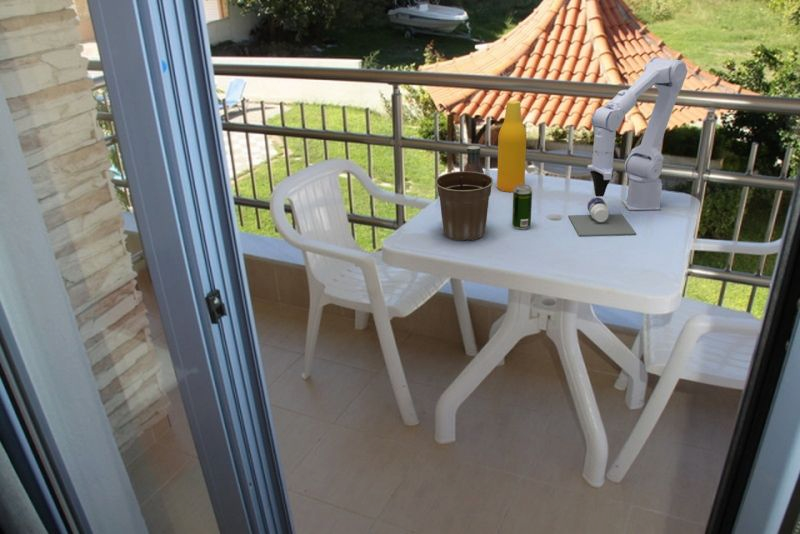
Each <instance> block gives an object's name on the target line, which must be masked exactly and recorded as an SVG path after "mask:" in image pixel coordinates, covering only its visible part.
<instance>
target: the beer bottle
mask: <svg viewBox="0 0 800 534" xmlns="http://www.w3.org/2000/svg"><path fill="white" fill-rule="evenodd" d="M521 109H522V108H521V101H519V100H508V101H506V107H505V113H504V114H505V115H504V120H503V123H502V125H501V127H500V130H499V132H498V137H497V139H498V141H497V172H496V173H497V174H496V175H497V177H496V187H497V189H498V190H499V191H502V192H504V191H505V192H506V193H513V190H514V187H515V186H517V185H526V175H525V174H526V156H527V140H528V139H527V132H526V127H525V126H524V123H523V120H522V110H521Z"/></svg>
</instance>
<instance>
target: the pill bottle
mask: <svg viewBox="0 0 800 534" xmlns="http://www.w3.org/2000/svg"><path fill="white" fill-rule="evenodd" d="M586 207H587V211H588V212H589V215H591V217H592V218H593V219H594V220H596V221H598V222H604V221H605V220H607V218H608V214H610V210H609V208H608V207H609V206H607V204H606V202H605V200H604V199H603V198H601V197H596V196H594V197H592V198H591V199H589V200H588V202H587V205H586Z"/></svg>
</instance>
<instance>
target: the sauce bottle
mask: <svg viewBox="0 0 800 534" xmlns="http://www.w3.org/2000/svg"><path fill="white" fill-rule="evenodd" d="M466 153H467V159H466V161H467V162H466V163H465V165H464V168H463V171H470V172H479V173H483V174H485V173H484V172H485V171H484V170H483V167H482V164H481V159H480V158H481V147H480V146H478V145H470V146H467V147H466Z"/></svg>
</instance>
